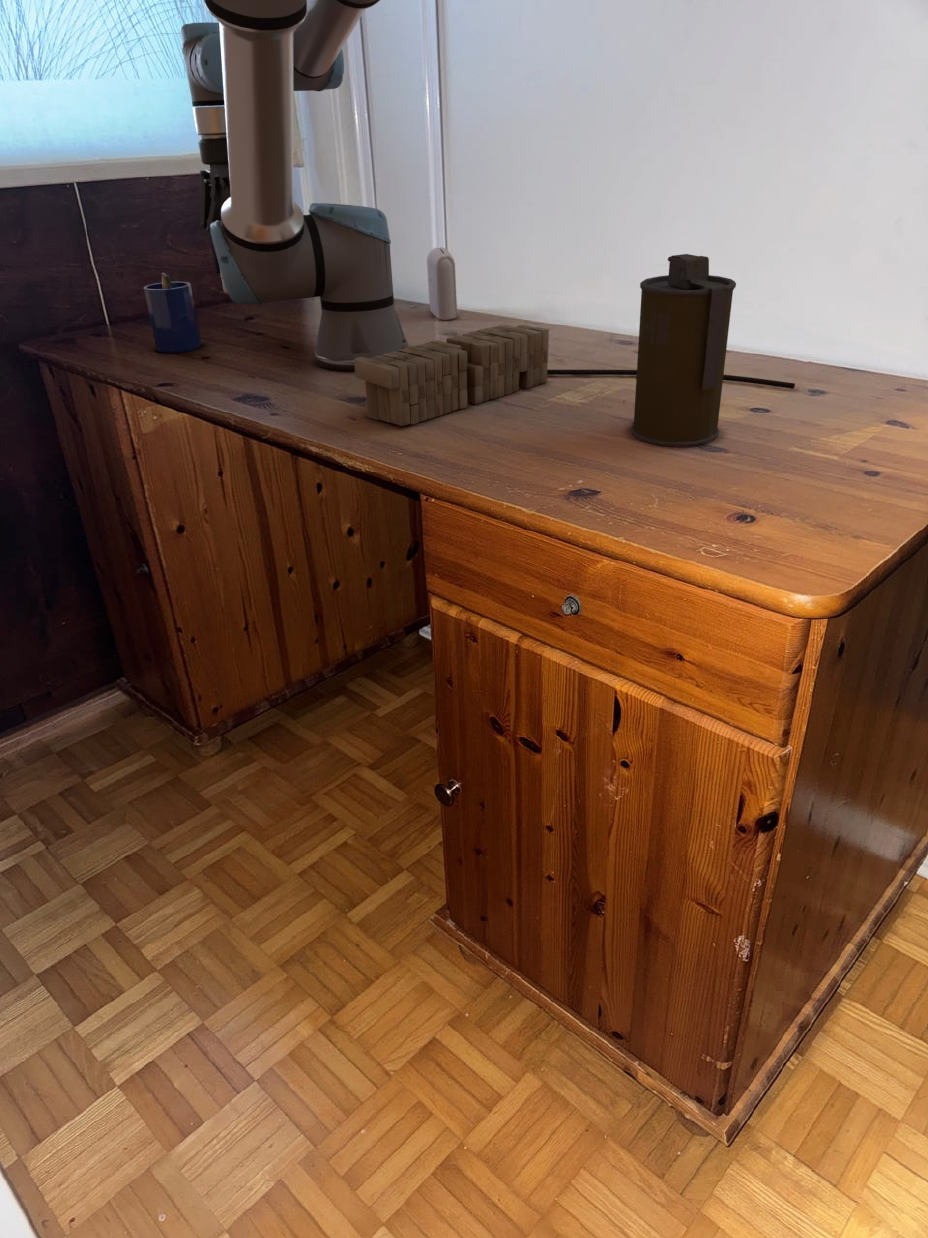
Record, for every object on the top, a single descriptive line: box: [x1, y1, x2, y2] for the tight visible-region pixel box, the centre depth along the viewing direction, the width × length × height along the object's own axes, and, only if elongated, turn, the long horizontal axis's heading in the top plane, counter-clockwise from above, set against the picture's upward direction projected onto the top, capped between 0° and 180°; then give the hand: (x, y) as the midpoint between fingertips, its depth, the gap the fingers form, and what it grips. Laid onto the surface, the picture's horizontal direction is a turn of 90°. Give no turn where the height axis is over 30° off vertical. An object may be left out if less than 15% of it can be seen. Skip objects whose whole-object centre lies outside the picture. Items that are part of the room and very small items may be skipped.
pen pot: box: [143, 281, 202, 354], centre depth 153 cm, size 8×8×10 cm
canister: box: [630, 253, 737, 448], centre depth 101 cm, size 11×10×20 cm
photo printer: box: [426, 246, 458, 321], centre depth 168 cm, size 10×4×12 cm, turn 13°
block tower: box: [354, 323, 550, 427], centre depth 119 cm, size 8×8×29 cm
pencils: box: [161, 272, 172, 289], centre depth 153 cm, size 2×3×12 cm
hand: (242, 275), depth 154 cm, fingers closed on teacup with lid, 12 cm apart
